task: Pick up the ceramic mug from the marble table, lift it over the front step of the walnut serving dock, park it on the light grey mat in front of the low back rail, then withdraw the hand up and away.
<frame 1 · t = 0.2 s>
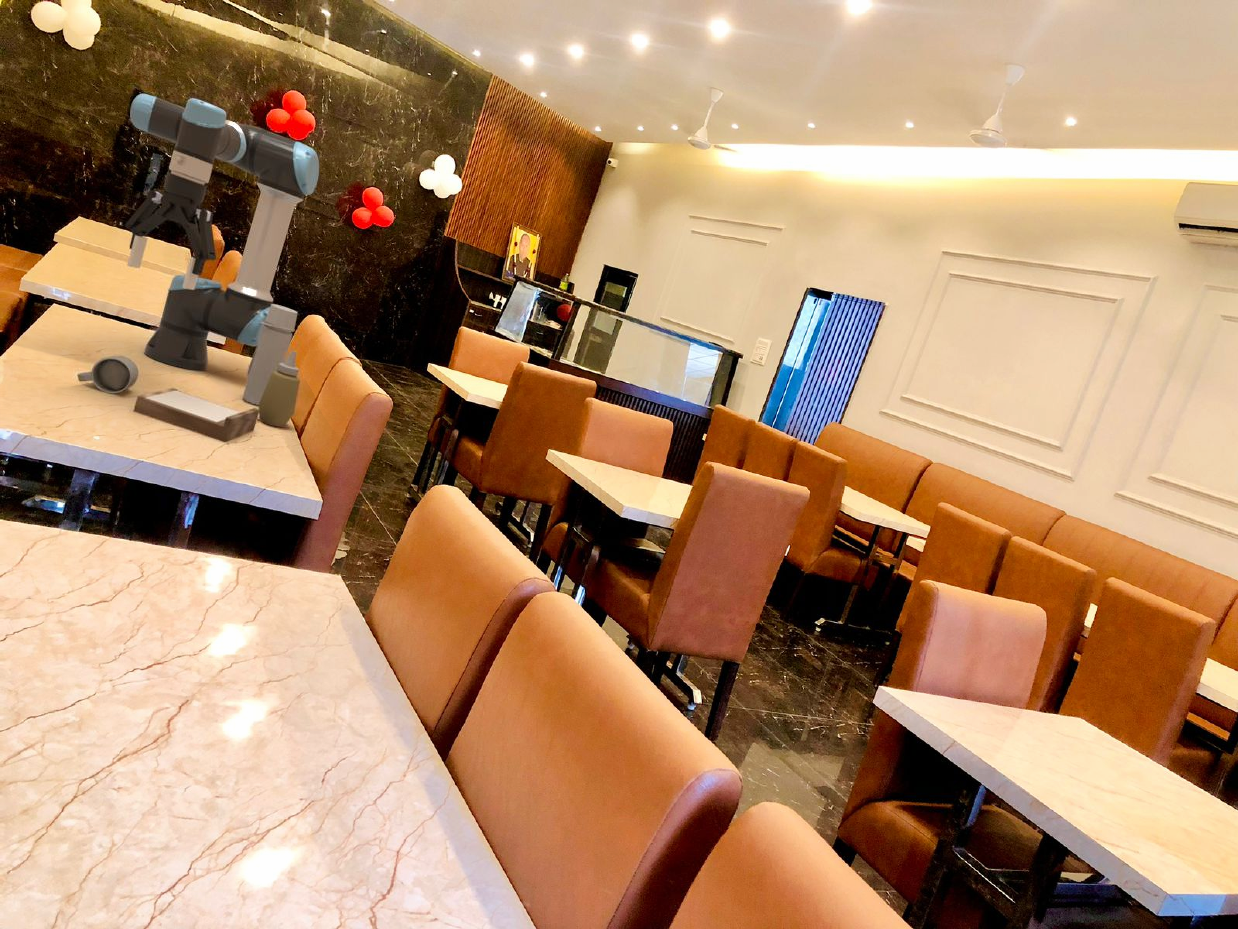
hand: (160, 277, 183), 26 cm above the table, tool pointing down, fingers open, 13 cm apart
water bottle: (253, 402, 222), on the table
ceramic mug: (104, 389, 188), on the table
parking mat: (195, 406, 187), point 3 cm above the table
squeeze bottle: (271, 423, 209), on the table
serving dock: (196, 421, 188), on the table
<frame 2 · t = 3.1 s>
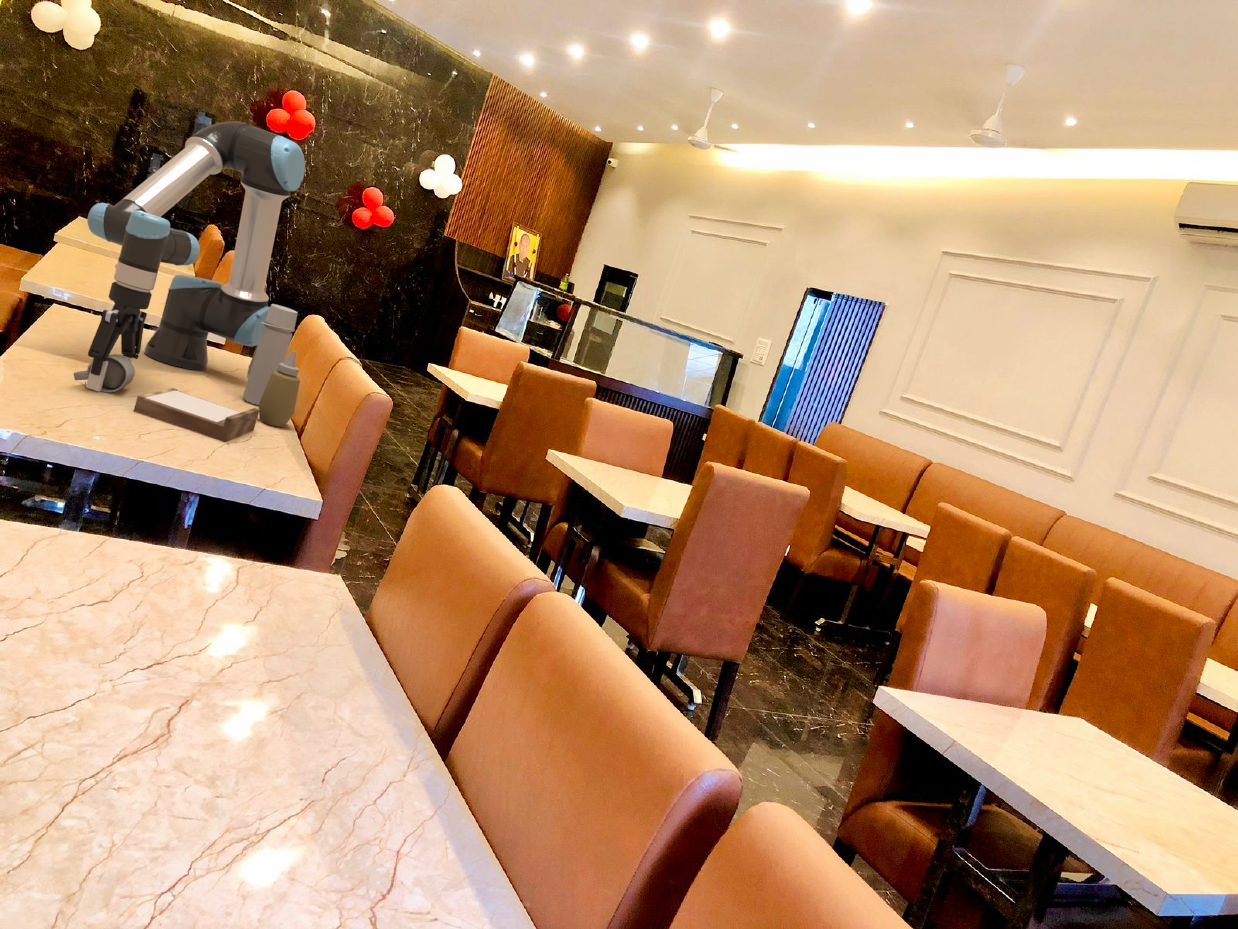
hand: (105, 386, 188), 0 cm above the table, tool pointing down, fingers open, 9 cm apart
ceramic mug: (100, 387, 187), on the table, touching gripper
everything else where it was.
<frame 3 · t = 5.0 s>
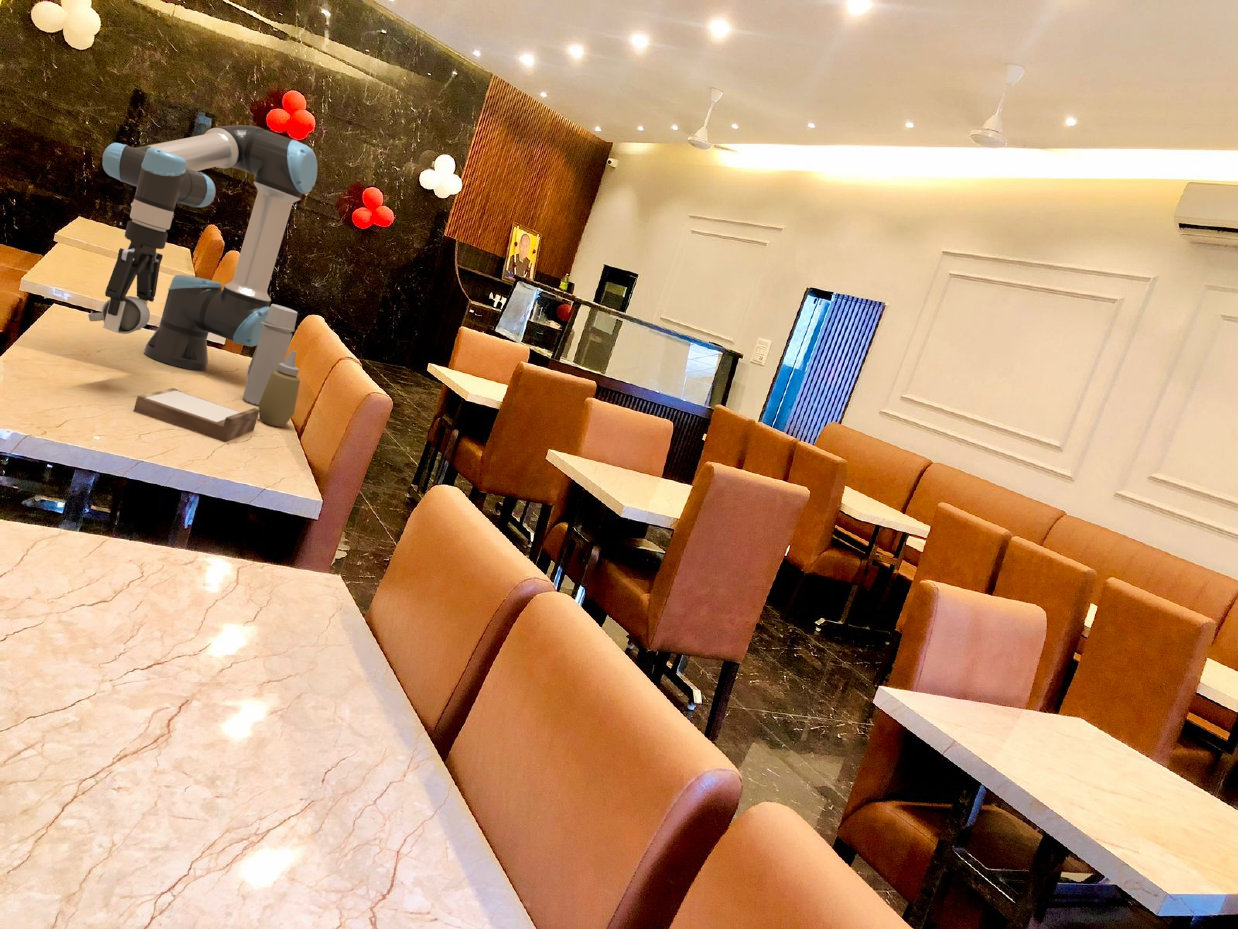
hand: (122, 328, 186), 13 cm above the table, tool pointing down, fingers closed on ceramic mug, 9 cm apart
ceramic mug: (115, 329, 185), point 13 cm above the table, touching gripper
everything else where it was.
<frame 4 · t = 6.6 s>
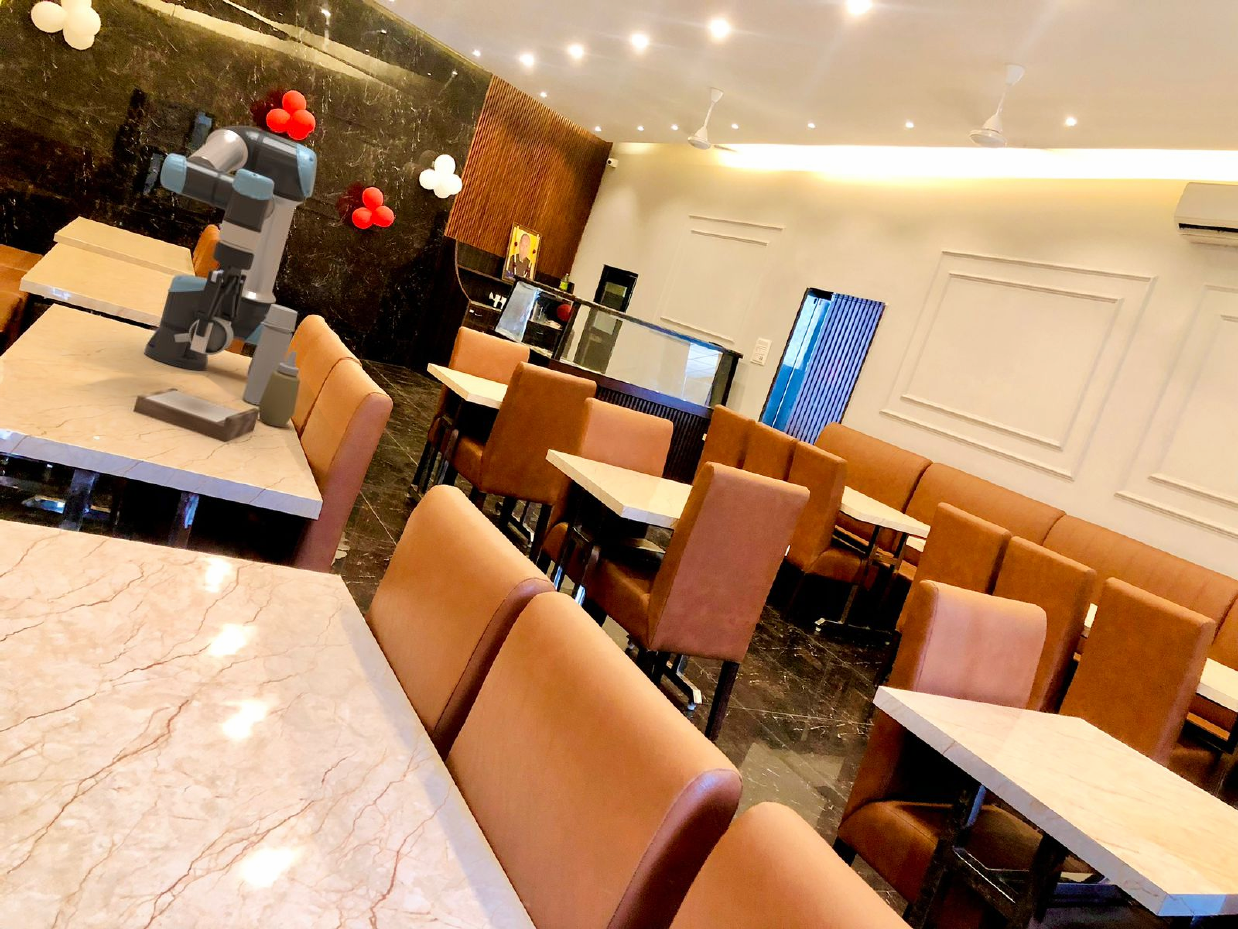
hand: (207, 349, 185), 15 cm above the table, tool pointing down, fingers closed on ceramic mug, 9 cm apart
ceramic mug: (200, 350, 185), point 15 cm above the table, touching gripper
everything else where it was.
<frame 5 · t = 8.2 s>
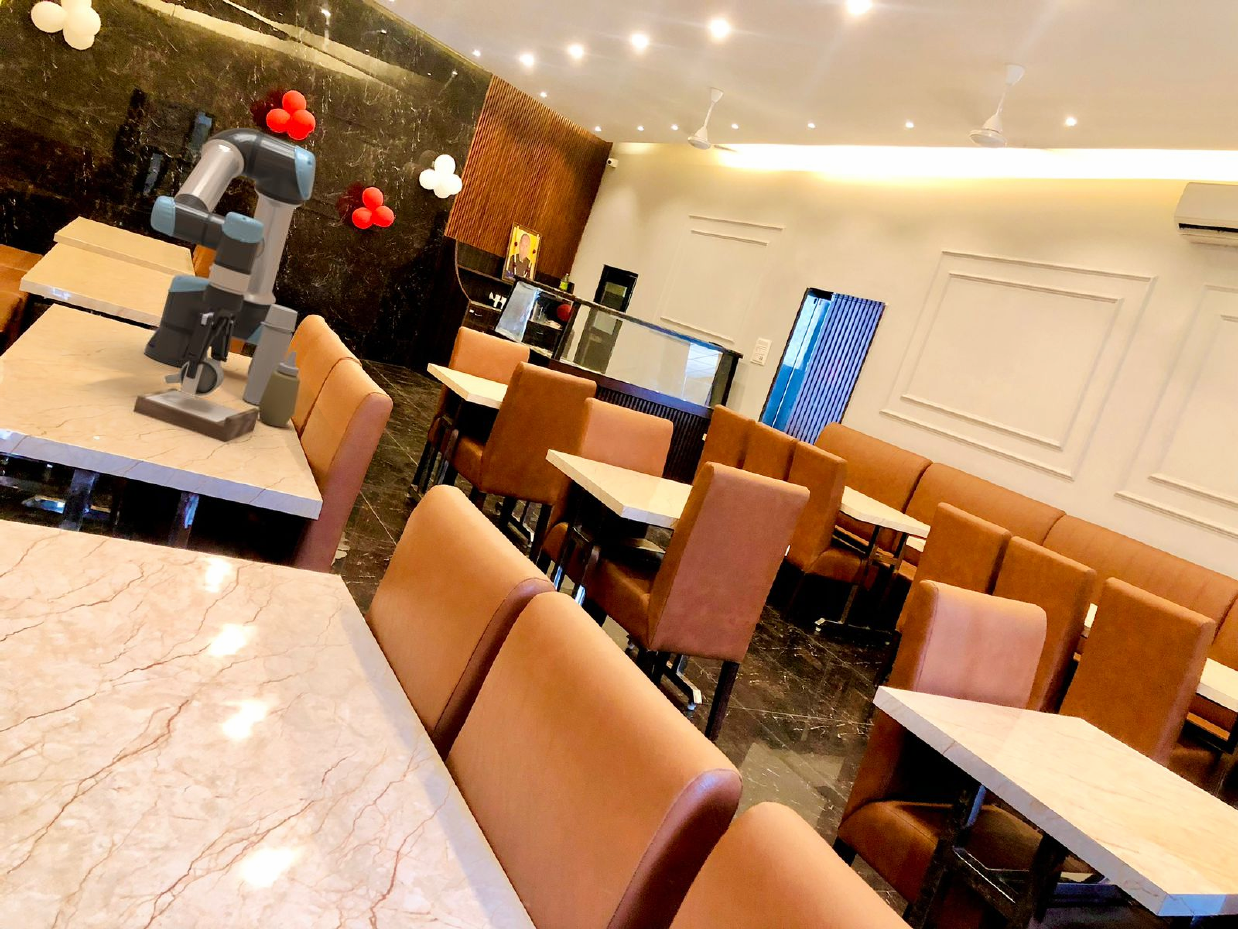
hand: (197, 390, 187), 7 cm above the table, tool pointing down, fingers closed on ceramic mug, 9 cm apart
ceramic mug: (191, 391, 186), point 6 cm above the table, touching gripper
everything else where it was.
when the fingers open (4 cm above the table, at t = 9.5 s): ceramic mug stays where it is, resting on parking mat.
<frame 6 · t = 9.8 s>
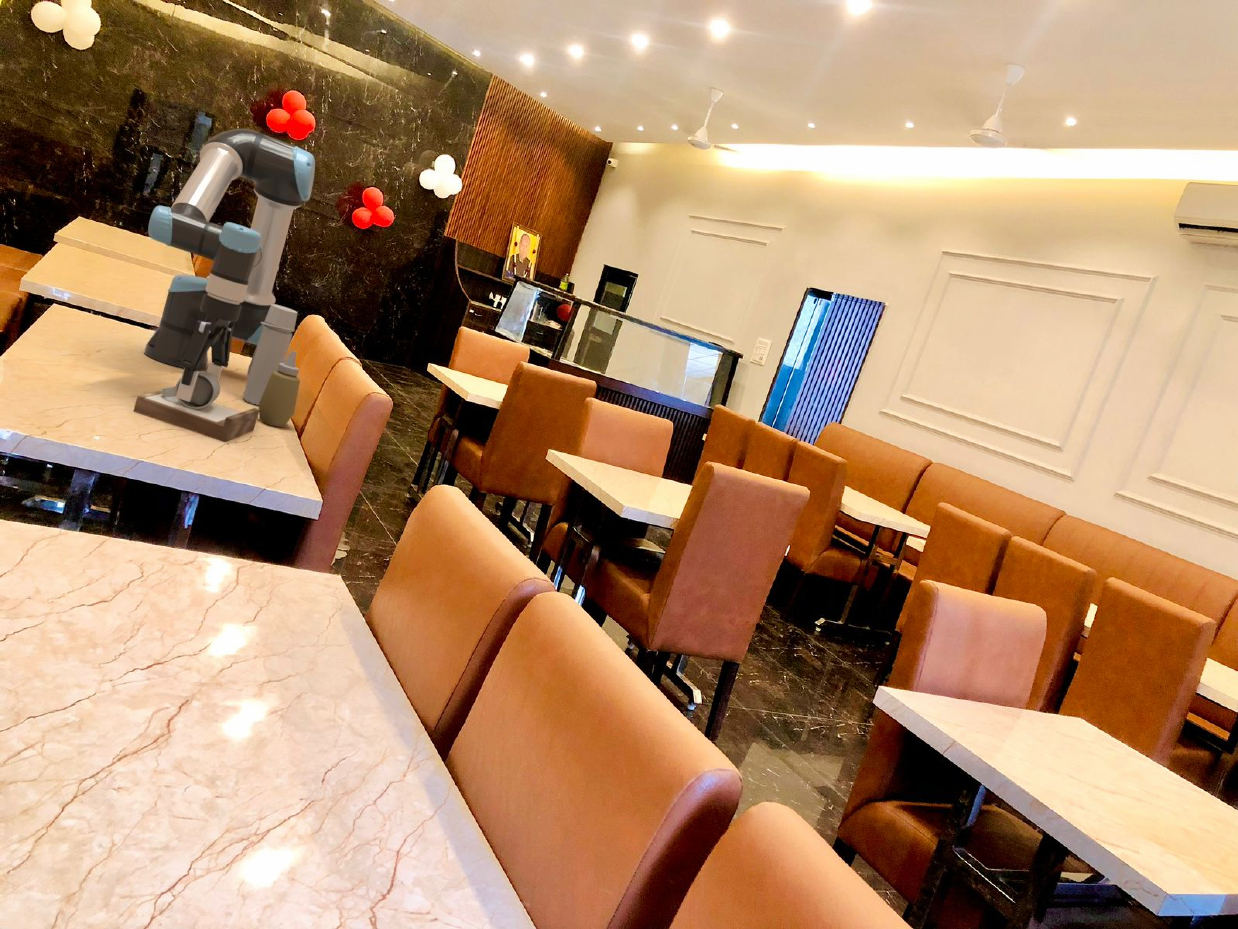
hand: (195, 396, 187), 5 cm above the table, tool pointing down, fingers open, 11 cm apart
ceramic mug: (187, 404, 187), point 3 cm above the table, touching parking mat
everything else where it was.
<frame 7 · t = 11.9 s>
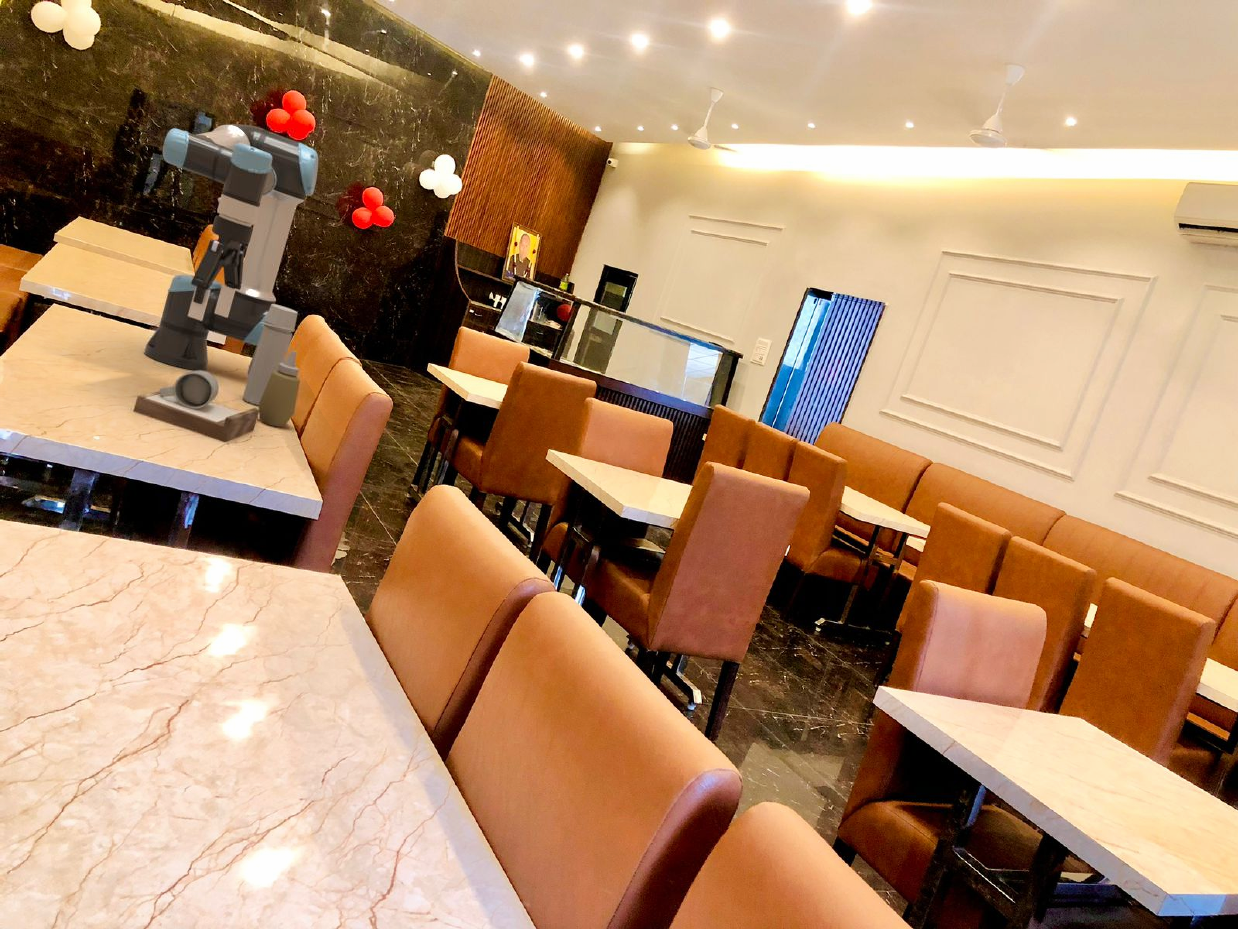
hand: (208, 316, 188), 22 cm above the table, tool pointing down, fingers open, 13 cm apart
nothing on the table moved.
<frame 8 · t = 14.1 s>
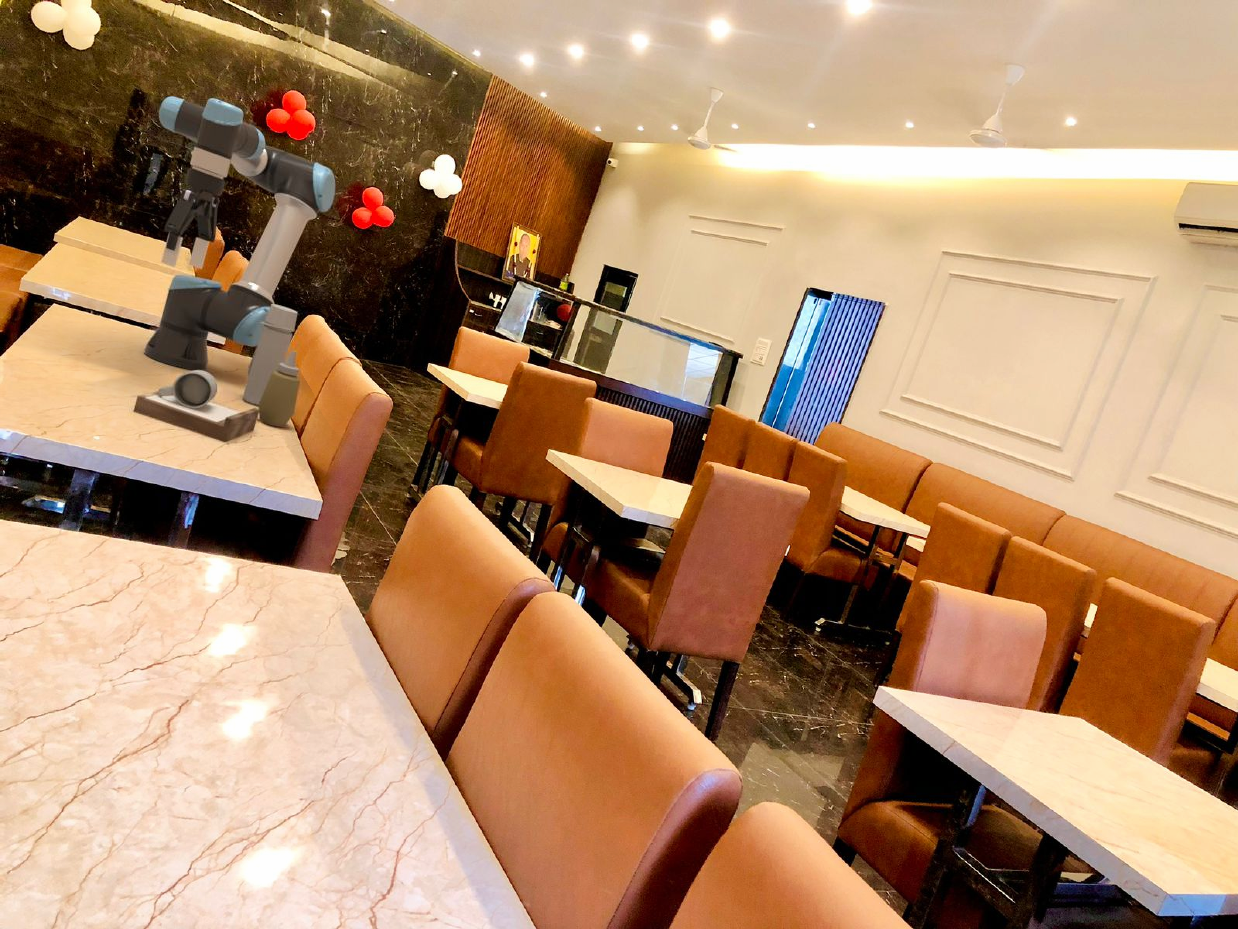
hand: (182, 265, 196), 29 cm above the table, tool pointing down, fingers open, 13 cm apart
nothing on the table moved.
at the end: ceramic mug inside the target area on the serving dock (1.8 cm from its centre), point 3.0 cm above the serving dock's base; ceramic mug tilted 1°; the gripper is holding nothing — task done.
